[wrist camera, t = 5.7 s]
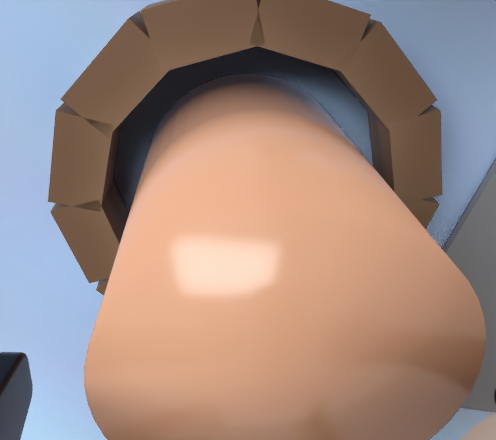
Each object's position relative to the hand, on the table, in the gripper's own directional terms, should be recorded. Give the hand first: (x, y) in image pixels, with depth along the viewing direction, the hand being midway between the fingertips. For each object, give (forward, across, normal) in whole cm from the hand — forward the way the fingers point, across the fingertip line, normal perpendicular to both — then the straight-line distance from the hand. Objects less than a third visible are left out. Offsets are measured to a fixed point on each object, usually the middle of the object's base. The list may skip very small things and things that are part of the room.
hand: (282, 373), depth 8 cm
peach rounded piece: (+9, 0, +2) cm, 9 cm away
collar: (+8, 0, 0) cm, 8 cm away
